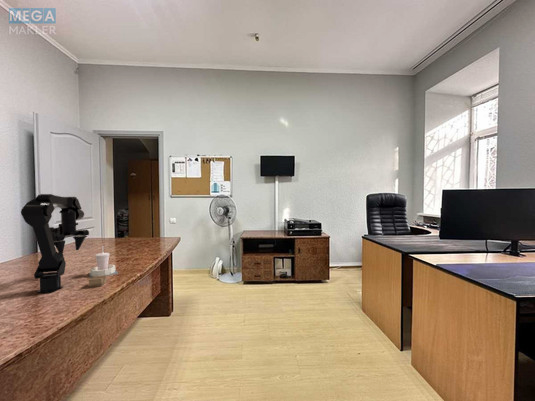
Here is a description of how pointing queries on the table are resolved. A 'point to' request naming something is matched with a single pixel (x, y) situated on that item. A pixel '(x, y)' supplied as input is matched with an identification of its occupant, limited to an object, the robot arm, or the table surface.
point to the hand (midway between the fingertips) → (69, 252)
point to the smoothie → (102, 260)
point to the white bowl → (102, 271)
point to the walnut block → (97, 281)
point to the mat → (106, 275)
